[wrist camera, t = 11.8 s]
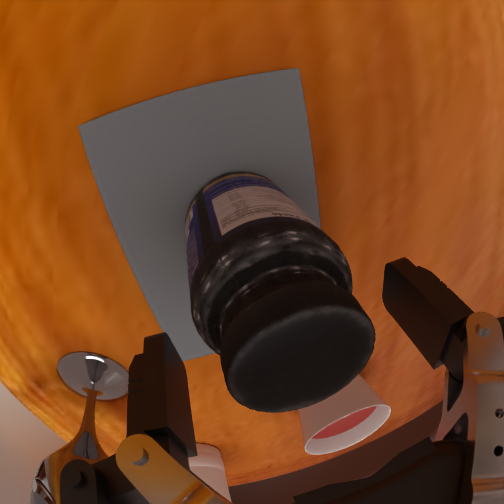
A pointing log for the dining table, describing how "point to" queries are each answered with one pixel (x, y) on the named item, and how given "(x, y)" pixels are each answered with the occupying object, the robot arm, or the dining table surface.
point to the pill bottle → (272, 296)
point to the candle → (343, 418)
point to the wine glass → (85, 442)
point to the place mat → (194, 174)
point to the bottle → (210, 468)
